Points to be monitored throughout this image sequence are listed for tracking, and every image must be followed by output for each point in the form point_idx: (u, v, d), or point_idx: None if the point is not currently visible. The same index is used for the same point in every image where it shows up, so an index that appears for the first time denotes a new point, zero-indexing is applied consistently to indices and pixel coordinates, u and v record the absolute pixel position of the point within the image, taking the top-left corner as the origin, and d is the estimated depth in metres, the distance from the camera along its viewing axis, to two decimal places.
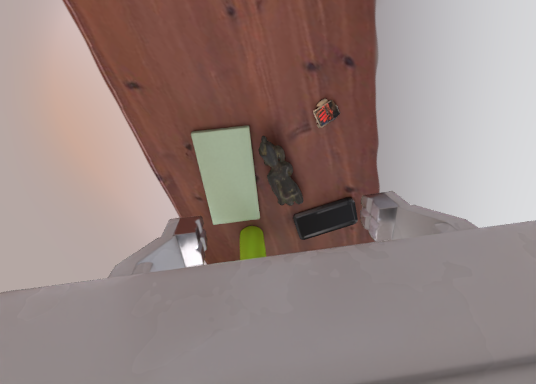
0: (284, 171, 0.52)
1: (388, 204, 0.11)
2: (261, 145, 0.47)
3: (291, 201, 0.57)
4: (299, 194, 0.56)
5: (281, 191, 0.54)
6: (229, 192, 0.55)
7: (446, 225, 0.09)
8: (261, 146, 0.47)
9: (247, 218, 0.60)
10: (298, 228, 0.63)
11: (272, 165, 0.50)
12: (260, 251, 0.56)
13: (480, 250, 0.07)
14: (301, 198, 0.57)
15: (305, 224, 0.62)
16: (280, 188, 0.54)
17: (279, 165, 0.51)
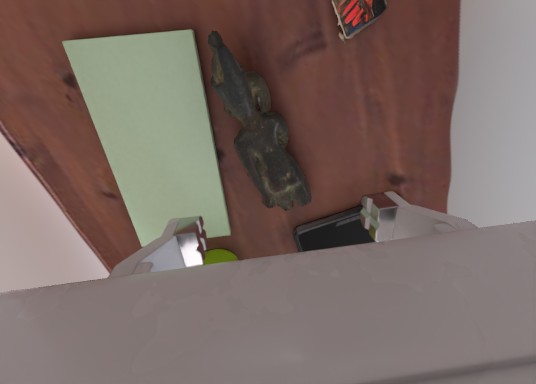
0: (270, 133, 0.24)
1: (388, 204, 0.11)
2: (212, 62, 0.21)
3: (288, 200, 0.30)
4: (303, 185, 0.28)
5: (266, 177, 0.27)
6: (165, 181, 0.28)
7: (446, 225, 0.09)
8: (212, 64, 0.21)
9: (207, 234, 0.32)
10: None
11: (243, 116, 0.23)
12: None
13: (480, 250, 0.07)
14: (307, 193, 0.29)
15: (315, 244, 0.34)
16: (264, 171, 0.26)
17: (259, 118, 0.24)
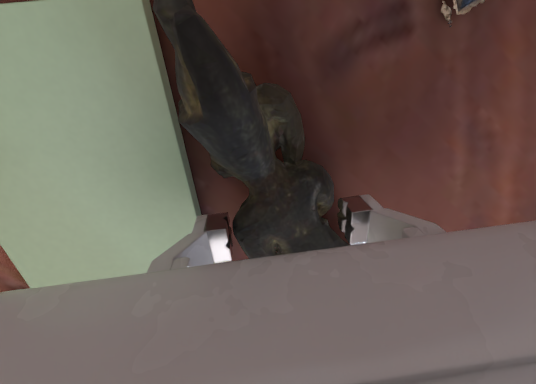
0: (303, 203, 0.12)
1: (362, 207, 0.11)
2: None
3: None
4: None
5: None
6: (112, 274, 0.16)
7: (415, 229, 0.09)
8: (176, 70, 0.08)
9: None
10: None
11: (250, 177, 0.11)
12: None
13: (480, 250, 0.07)
14: None
15: None
16: None
17: (283, 177, 0.12)
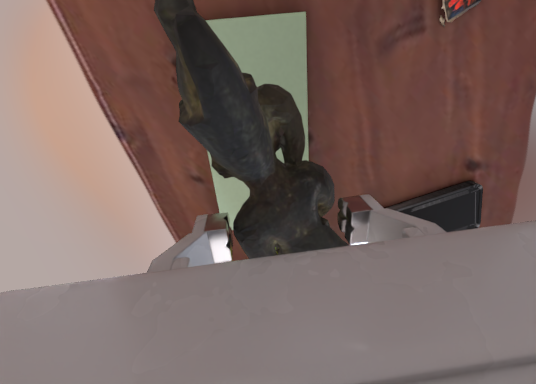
0: (304, 204, 0.12)
1: (362, 207, 0.11)
2: None
3: None
4: None
5: None
6: None
7: (415, 229, 0.09)
8: (177, 71, 0.08)
9: None
10: None
11: (250, 178, 0.11)
12: None
13: (480, 250, 0.07)
14: None
15: None
16: None
17: (284, 178, 0.12)
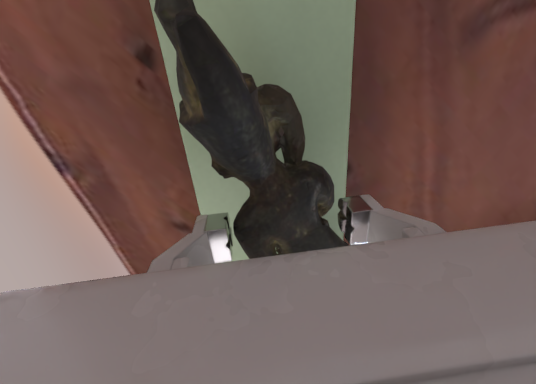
0: (304, 204, 0.12)
1: (362, 207, 0.11)
2: None
3: None
4: None
5: None
6: None
7: (415, 229, 0.09)
8: (177, 71, 0.08)
9: None
10: None
11: (250, 178, 0.11)
12: None
13: (480, 250, 0.07)
14: None
15: None
16: None
17: (284, 178, 0.12)
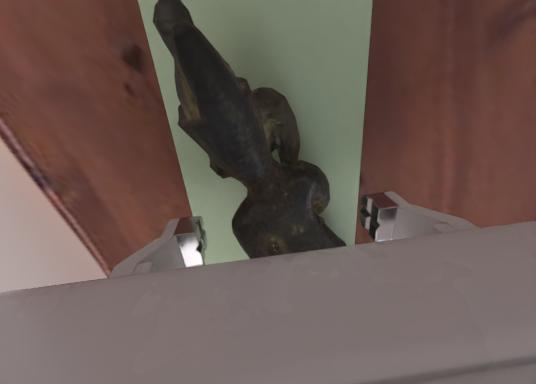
0: (300, 202, 0.13)
1: (388, 204, 0.11)
2: (175, 72, 0.09)
3: None
4: None
5: None
6: None
7: (446, 225, 0.09)
8: (175, 77, 0.09)
9: None
10: None
11: (247, 178, 0.11)
12: None
13: (480, 250, 0.07)
14: None
15: None
16: None
17: (280, 177, 0.12)
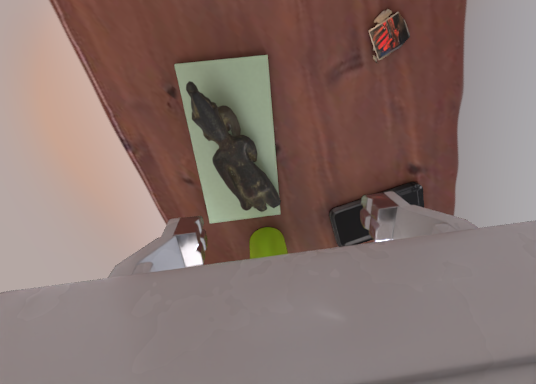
0: (240, 151, 0.31)
1: (388, 204, 0.11)
2: (191, 101, 0.27)
3: (261, 203, 0.36)
4: (272, 191, 0.35)
5: (241, 186, 0.33)
6: None
7: (446, 225, 0.09)
8: (191, 103, 0.27)
9: (262, 213, 0.39)
10: (337, 230, 0.42)
11: (217, 139, 0.30)
12: None
13: (480, 250, 0.07)
14: (276, 197, 0.36)
15: (347, 223, 0.42)
16: (238, 181, 0.33)
17: (231, 140, 0.31)
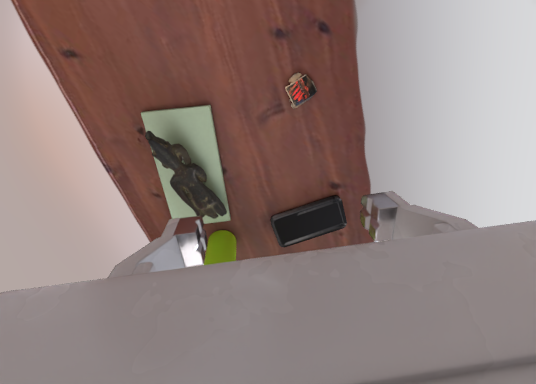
0: (190, 175, 0.42)
1: (388, 204, 0.11)
2: None
3: (212, 213, 0.47)
4: (218, 203, 0.46)
5: (193, 200, 0.45)
6: None
7: (446, 225, 0.09)
8: None
9: (215, 219, 0.51)
10: (277, 233, 0.53)
11: (172, 168, 0.41)
12: (226, 257, 0.46)
13: (480, 250, 0.07)
14: (222, 208, 0.47)
15: (285, 227, 0.53)
16: (191, 197, 0.44)
17: (183, 168, 0.42)
